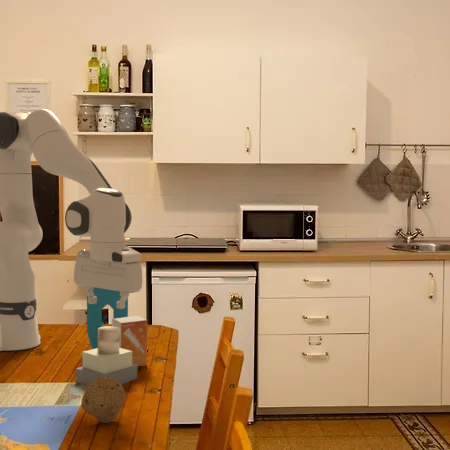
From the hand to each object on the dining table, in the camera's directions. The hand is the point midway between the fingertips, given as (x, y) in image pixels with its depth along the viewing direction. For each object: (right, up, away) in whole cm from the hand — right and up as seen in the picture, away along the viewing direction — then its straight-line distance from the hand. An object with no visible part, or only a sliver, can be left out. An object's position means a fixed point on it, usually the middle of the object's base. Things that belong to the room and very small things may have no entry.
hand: (106, 305), depth 163 cm
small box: (+4, -19, +16) cm, 25 cm away
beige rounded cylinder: (0, -12, +1) cm, 12 cm away
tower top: (0, -16, +2) cm, 16 cm away
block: (-5, -18, +29) cm, 34 cm away
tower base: (0, -20, +2) cm, 20 cm away
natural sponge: (+4, -22, -27) cm, 35 cm away
